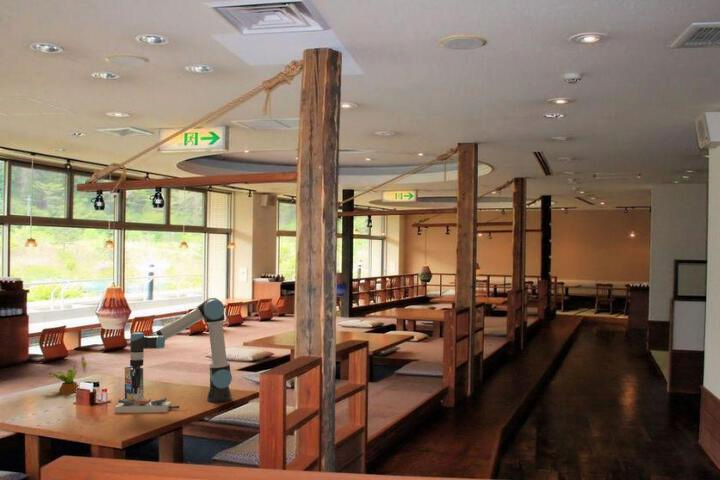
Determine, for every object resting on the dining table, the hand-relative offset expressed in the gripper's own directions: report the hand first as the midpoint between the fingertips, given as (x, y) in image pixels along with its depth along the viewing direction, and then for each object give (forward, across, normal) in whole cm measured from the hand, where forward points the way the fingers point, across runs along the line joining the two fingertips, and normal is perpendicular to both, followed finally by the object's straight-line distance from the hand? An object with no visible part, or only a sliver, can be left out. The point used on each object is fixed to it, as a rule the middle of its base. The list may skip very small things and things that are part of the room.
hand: (136, 399), depth 397 cm
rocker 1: (+2, 0, -6) cm, 6 cm away
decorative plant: (+9, -56, -63) cm, 84 cm away
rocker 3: (+1, 0, +14) cm, 14 cm away
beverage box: (+7, -19, -7) cm, 21 cm away
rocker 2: (+1, 0, +4) cm, 4 cm away
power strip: (+7, -2, +7) cm, 10 cm away
